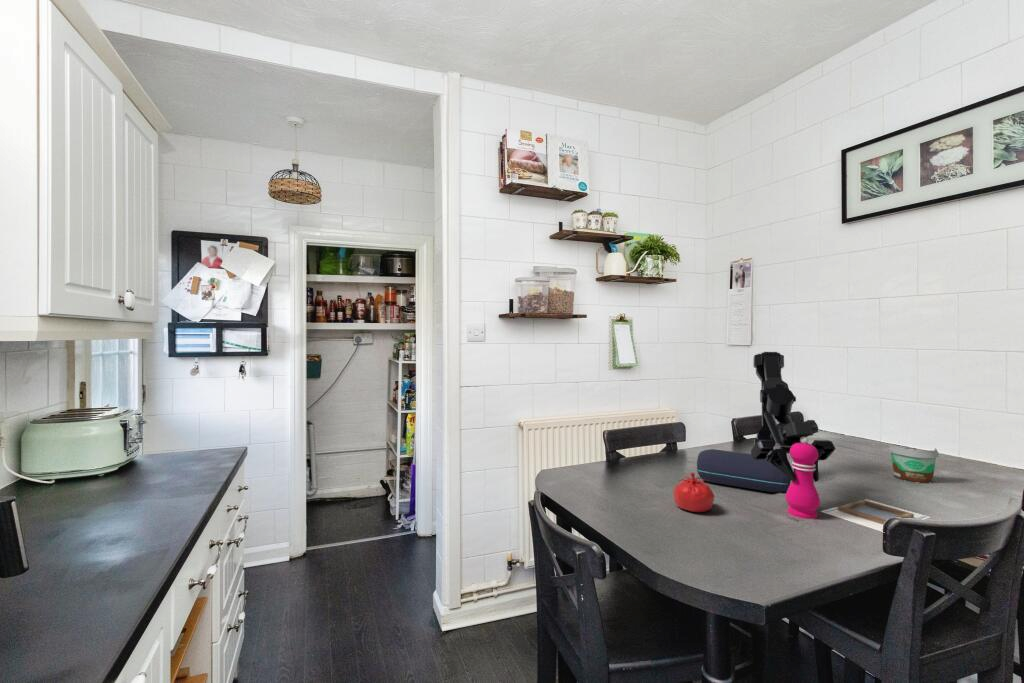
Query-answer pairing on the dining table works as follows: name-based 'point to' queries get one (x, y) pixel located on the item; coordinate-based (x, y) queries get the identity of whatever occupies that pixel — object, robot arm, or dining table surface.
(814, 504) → the pepper mill
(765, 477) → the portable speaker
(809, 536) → the dining table surface
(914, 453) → the food container
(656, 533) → the dining table surface
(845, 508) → the walnut socket
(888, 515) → the picture frame
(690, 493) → the pomegranate
